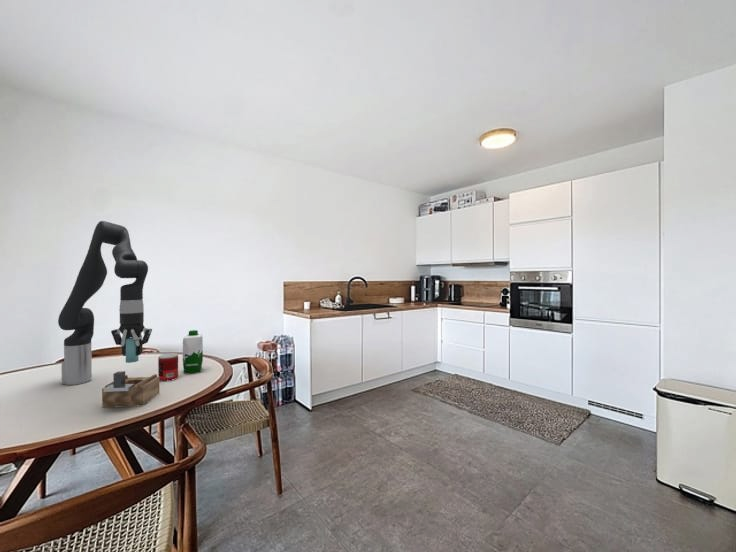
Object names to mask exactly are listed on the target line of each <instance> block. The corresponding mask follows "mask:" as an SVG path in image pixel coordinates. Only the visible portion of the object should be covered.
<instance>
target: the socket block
mask: <svg viewBox="0 0 736 552" xmlns="http://www.w3.org/2000/svg"><path fill="white" fill-rule="evenodd" d="M125 384H135V387H134V388H132V389H130V390H129V391H113V392H104V388H106V387H108V386H109V385H114V380H112V382H110V383H108V384H106V385H105V386H104V387H103V388H101V408H102V407H104V408H117V407H116V406H125V407H141V406H140V405H144V406H145V405H146V404H147V402H148V401H149V402H151V399H152V400H153V399H154V398H156V397H157V396H159V394H160V380H159V376H158V375H157V373H155V374H153V375H151V376H142V377H129V376H128V374H127V375H126V374H125ZM149 402H148V403H149ZM137 405H139V406H137Z"/></svg>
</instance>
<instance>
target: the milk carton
mask: <svg viewBox="0 0 736 552" xmlns="http://www.w3.org/2000/svg"><path fill="white" fill-rule="evenodd" d="M203 338H204V337H203V334H202V333H199V331H198V330H197V329H196V330H193V329H192V330H189V331H188V334H185V335H184V336H183V338H182V366H183V374H184V375H186V374H185V373H190V374H197V372H199V373H201V372H202V367H203V366H202V365H203V360H204V358H203V357H204V355H203V354H204V349H203V348H204V344H203V342H204V340H203Z"/></svg>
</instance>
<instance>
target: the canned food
mask: <svg viewBox="0 0 736 552" xmlns="http://www.w3.org/2000/svg"><path fill="white" fill-rule="evenodd" d="M157 359H158V360H157V361H158V366H157V367H158V371H157V372H158V375H157V377H159V382H168V381H167V380H170V381H173V380H172V379H174V380H176V379H177V378H178V377H179V354H178V353H176V352H175V353H173V352H172V353H164V354H161V355H158V357H157ZM175 378H176V379H175Z"/></svg>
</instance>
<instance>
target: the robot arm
mask: <svg viewBox="0 0 736 552" xmlns="http://www.w3.org/2000/svg"><path fill="white" fill-rule="evenodd" d="M103 244H107V245H112V246H113V248H112V250H111V255H112V257H113V259H114V261H115V264H114V274H115V276H116V277H117V278H120V279H135V280H134V282H131V283H127V284H124V285H121V286H120V291H119V293H120V294H119V295H120V298H119V299H120V301H119V311H118V312H119V325H120V326H119V327H118V329H117V328H116V329H113V330H111V331H110V332H111V335H112V338H113V341H114V343H115V345H116V346H121V354H122V356H124V357H126V339H127V338H131V337H132V338H134V341H135V342H136V345H137V346H136V356H138V357H139V356H141V355H142V354H143V345H145V344H147V343H149V340H150V337H151V335H152V332H153V329H152V328H147V327H145V326H144V317H145V315H144V305H145V304H144V300H143V299H144V297H143V295H144V293H143V291H144V284H145V281H146V278H147V275H148V273H149V266H148V263H147V262H146V261H144V260H140V259H139V260H138V258H137V256H136V253H135V251H134V250H133V248H132V245H131V244H132V243H131V238H130V234H129V230H128V228H127V227H125V226H123V225H121V224H116V223H113V222H109V221H106V220H105V221H104V220H100V221H99V222H98V223H97V224H96V225H95V228H94V231H93V234H92V236H91V240H90V244H89V246H88V250H87V252H86V255H85V258H84V260H83V262H82V265H81V267H80V269H79V272H78V275H77V276H76V279H75V281H74V282H75V283H74V284H73V288H72V290H71V292H70V294H69V296H68V298H67V300H66V302H65V304H64V306H63V308H62V309H61V311H60V313H59V315H58V319H57V324H58V326H59V328H60V329H61V330H63V331H73V333H72V334H70V335H69V336H67V337H65V338H64V341H63V359H64V360H63V361H62V362H61V385H66V386H75V385H81V384H84V383H88V382H90V381H92V380H93V379H92V376H93V375H92V371H93V370H92V369H93V368H92V367H93V366H92V365H93V363H92V359H93V358H92V339H93V337H94V329H95V315H94V312H93V311H92V310H91V309H90V308H88V307H84V306H85V304H86V303H87V301H89V300H90V299H91V297H93V296H94V295H96V293H98V292H99V291H100V289H101V288H102V287H103V285H104V282H105V280H106V277H107V275H108V269H107V266H106V263H105V261H104V258H103V255H102V245H103ZM142 333H143V335H142Z"/></svg>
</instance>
